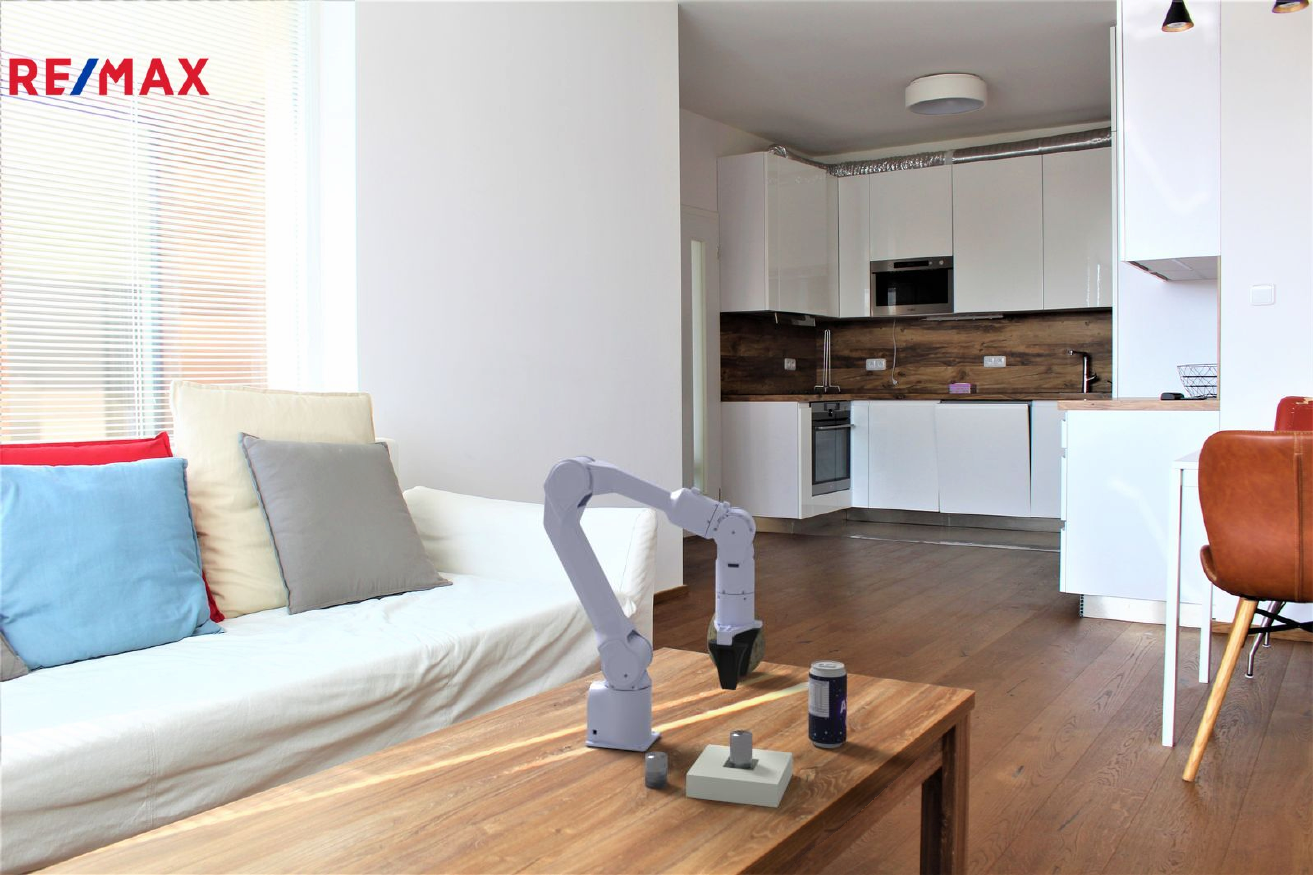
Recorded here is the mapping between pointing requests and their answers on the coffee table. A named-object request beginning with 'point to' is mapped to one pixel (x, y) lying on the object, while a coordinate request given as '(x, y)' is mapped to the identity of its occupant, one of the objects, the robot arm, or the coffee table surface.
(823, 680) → the beverage can
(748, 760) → the long pin
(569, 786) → the coffee table surface
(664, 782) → the short pin
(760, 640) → the decorative egg
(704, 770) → the hole block
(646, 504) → the robot arm
